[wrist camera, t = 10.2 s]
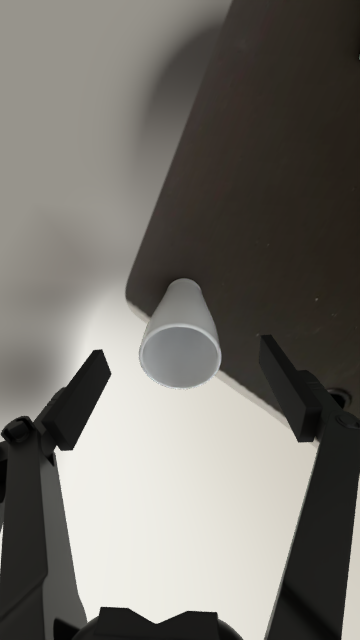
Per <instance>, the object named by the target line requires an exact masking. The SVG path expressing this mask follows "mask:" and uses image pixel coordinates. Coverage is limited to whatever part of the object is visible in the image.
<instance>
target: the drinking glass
mask: <svg viewBox="0 0 360 640" xmlns="http://www.w3.org/2000/svg"><path fill="white" fill-rule="evenodd" d="M139 360H140V364H141V367H142V368H143V370H144V372H145V373H146V374H147V376H148V377H149V378H151V379H152V380H153V381H155V382H156V383H158V384H160V385H162V386H165V387H168V388H173V389H190V388H195V387H198V386H200V385H202V384H204V383H206V382H207V381H209V380H210V379H211V378H212V377H213V376H214V375H215V374H216V373H217V371H218V369H219V367H220V364H221V350H220V343H219V338H218V333H217V330H216V326H215V323H214V320H213V318H212V316H211V313H210V311H209V309H208V307H207V304H206V302H205V300H204V298H203V295H202V291H201V289H200V287H199V285H198V284H197V283H196V282H194V281H193V280H190V279H186V278H182V279H177V280H175V281H173V282H172V283H171V284H170V285H169V286H168V288H167V290H166V293H165V295H164V296H163V298H162V300H161V301H160V303H159V305H158V306H157V308H156V310H155V311H154V313H153V315H152V316H151V318H150V320H149V322H148V325H147V327H146V330H145V333H144V336H143V339H142V342H141V346H140V349H139Z"/></svg>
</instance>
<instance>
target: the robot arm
mask: <svg viewBox="0 0 360 640" xmlns="http://www.w3.org/2000/svg"><path fill="white" fill-rule="evenodd" d="M259 364H260V366H261V368H262V370H263V372H264V374H265V376H266V378H267V380H268V382H269V384H270V386H271V388H272V390H273V392H274V394H275V396H276V398H277V400H278V402H279V404H280V406H281V408H282V410H283V413H284V415H285V417H286V419H287V421H288V423H289V425H290V427H291V429H292V431H293V433H294V435H295V436H296V439H297V441H298V442H313V441H314V437H315V436H316V437H317V439H318V441H319V442H320V444H319V447H318V450H317V453H316V454H317V455H316V458H315V462H314V465H313V469H312V472H311V476H310V479H309V483H308V486H307V490H306V493H305V497H304V501H303V504H302V508H301V511H300V515H299V518H298V522H297V525H296V529H295V532H294V536H293V539H292V543H291V547H290V550H289V554H288V557H287V561H286V564H285V568H284V571H283V575H282V579H281V582H280V585H279V589H278V593H277V596H276V600H275V603H274V606H273V610H272V613H271V617H270V620H269V623H268V627H267V631H266V634H265V638H264V640H341V636H342V625H343V617H344V607H345V598H346V589H347V580H348V571H349V562H350V553H351V544H352V535H353V526H354V516H355V507H356V499H357V490H358V481H359V472H360V420H359V419H358V418H357V417H355V416H354V415H352V414H350V413H349V412H346V411H343V410H342V409H341V407H340V406H339V405H338V404H337V402H336V401H335V400H334V399H333V398H332V396H331V395H330V394H329V393H328V391H327V390H326V389H325V388H324V387H323V385H322V384H320V382H319V380H318V379H317V378H316V377H315V376H314V375H313V374H311V373H310V372H309V371H307V370H301V371H297V370H296V369H295V367H294V366H293V364H292V363H291V362H290V360H289V359H288V358H287V356H286V355H285V353H284V352H283V351H282V349H281V348H280V346H279V345H278V344H277V342H276V341H275V340H274V338H273V337H272V335H261V341H260V356H259ZM110 376H111V371H110V369H109V366H108V364H107V361H106V358H105V356H104V353H103V351H102V349H101V350H93V352H92V353H91V355H90V356H89V357H88V358H87V360H86V361H85V362H84V364H83V365H82V367H81V368H80V369H79V370H78V372H77V373H76V375H75V376H74V377H73V379H72V380H71V381H70V383H69V384H68V385H67V387H63V388H61V389H60V390H59V391H58V392H57V393H56V394H55V395H54V396H53V397H52V399H51V401H49V403H48V404H47V406H45V408H44V409H43V410H42V412H41V413H40V414H39V415H38V417H37V418H36V419H35V420H34V422H32V421H31V419H30V418H29V417H28V416H21V417H19V418H16V419H14V420H13V421H11V422H10V423H9V424H7V425H6V426H5V428H4V429H3V430H2V432H1V436H2V437H3V438H4V439H5V440H6V441H3V442H0V532H1V529H2V525H3V538H2V554H1V569H0V640H243V639H242V637H241V636H240V635H239V634H238V633H237V632H236V631H235V630H234V629H233V628H231V627H230V626H229V625H228V624H227V623H225V622H223V621H221V620H220V619H218V614H217V612H199V611H186V612H184V613H182V614H179V615H177V616H175V617H172V618H170V619H168V620H165V621H163V622H161V623H158V624H155V623H153V622H151V621H149V620H147V619H146V618H144V617H142V616H141V615H139V614H137V613H135V612H133V611H132V610H130V609H129V608H115V607H101V608H100V613H99V616H97V617H96V618H94V619H93V620H91V621H90V622H88V623H87V618H86V614H85V610H84V607H83V605H82V603H81V600H80V598H79V595H78V590H77V585H76V579H75V573H74V566H73V560H72V555H71V548H70V543H69V536H68V529H67V523H66V518H65V511H64V505H63V499H62V492H61V486H60V480H59V474H58V468H57V462H56V455H55V453H54V449H55V447H56V446H58V447H59V449H60V450H61V451H67V450H73V448H74V446H75V444H76V443H77V441H78V438H79V437H80V435H81V433H82V431H83V429H84V427H85V425H86V423H87V421H88V419H89V417H90V415H91V413H92V411H93V409H94V407H95V405H96V403H97V401H98V399H99V397H100V395H101V394H102V392H103V390H104V388H105V386H106V384H107V382H108V380H109V378H110ZM3 522H4V523H3Z"/></svg>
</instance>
